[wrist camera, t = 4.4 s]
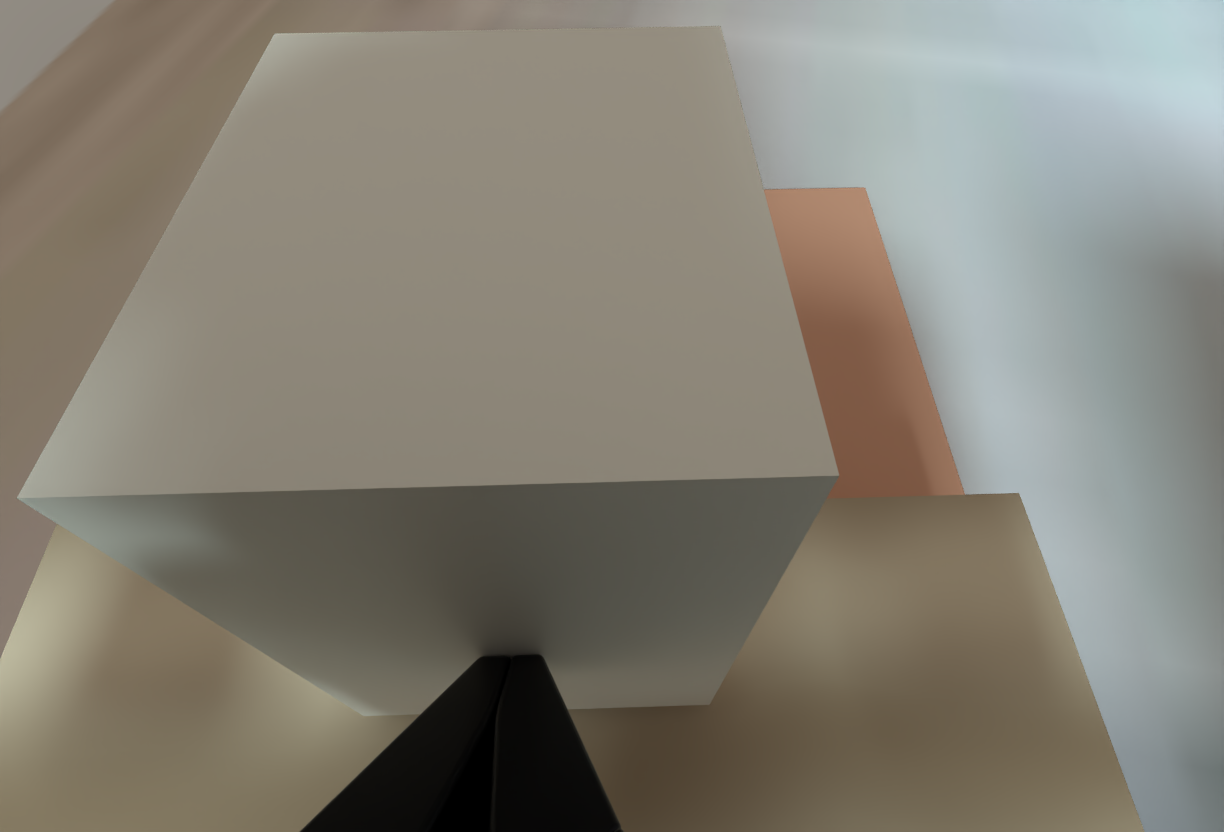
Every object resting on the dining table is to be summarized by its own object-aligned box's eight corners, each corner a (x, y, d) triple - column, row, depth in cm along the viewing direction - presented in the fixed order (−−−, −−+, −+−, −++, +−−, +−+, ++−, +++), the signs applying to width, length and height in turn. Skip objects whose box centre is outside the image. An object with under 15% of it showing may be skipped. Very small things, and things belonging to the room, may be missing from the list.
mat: (969, 534, 17) (975, 528, 17) (139, 558, 17) (129, 553, 17) (861, 196, 24) (864, 187, 24) (258, 208, 24) (253, 200, 23)
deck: (1108, 1149, 12) (1317, 1298, 8) (-22, 1197, 11) (-299, 1374, 8) (936, 553, 17) (1018, 492, 14) (171, 576, 17) (58, 520, 13)
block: (709, 705, 11) (839, 475, 5) (363, 716, 11) (16, 498, 5) (675, 386, 15) (721, 26, 9) (419, 393, 15) (274, 33, 9)
